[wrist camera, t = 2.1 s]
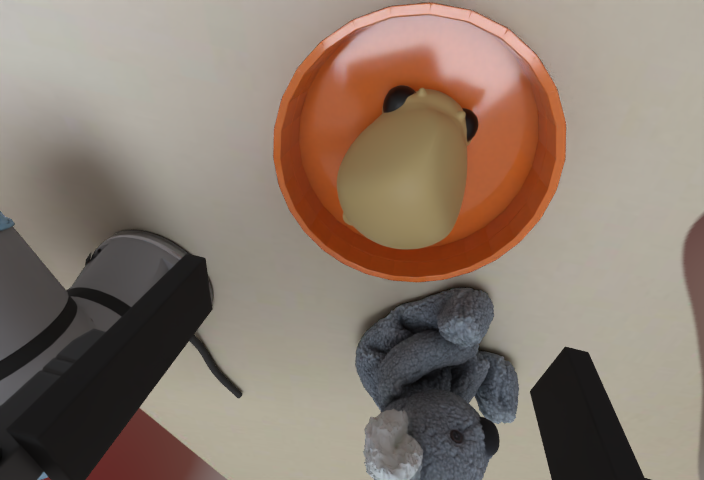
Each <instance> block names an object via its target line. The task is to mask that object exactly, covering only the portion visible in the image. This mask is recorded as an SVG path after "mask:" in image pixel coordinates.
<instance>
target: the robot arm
mask: <svg viewBox="0 0 704 480" xmlns="http://www.w3.org/2000/svg"><path fill="white" fill-rule="evenodd" d="M14 225H15V223H14V222H13V220H12V219H10V218H8V217H5V216H4V215H3V214H2V212H1V211H0V480H41V479H44V478H47V477H49V478H50V479H51V480H85V479H86V478H87V477H88V476H89V474H90V473H91V471H92V470H93V469H94V467H95V466H96V465H97V463H98V462H99V461H100V459H101V458H102V457H103V455H104V454H105V453H106V451H107V450H108V449H109V447H110V446H111V445H112V443H113V442H114V440H115V439H116V438H117V437H118V435H119V434H120V433H121V431H122V430H123V429H124V427H125V426H126V425H127V423H128V422H129V420H130V419H131V418H132V416H133V415H134V414H135V413H136V411H137V410H138V408H139V407H140V406H141V404H142V403H143V402H144V400H145V399H146V398H147V396H148V395H149V394H150V392H151V391H152V390H153V388H154V387H155V386H156V384H157V383H158V382H159V380H160V379H161V378H162V376H163V375H164V374H165V372H166V371H167V370H168V368H169V367H170V366H171V364H172V363H173V362H174V360H175V359H176V357H177V356H178V355H179V353H180V352H181V351H182V349H183V348H184V347H185V345H186V344H187V343H188V341H190V342H191V343H192V344H193V345H194V346H195V347H196V348H197V350H198V351H199V352H200V354H201V355H202V357H203V359H204V360H205V362H206V364H207V366H208V367H209V369H210V370H211V372H212V373H213V374H214V375H215V377H216V378H217V379H218V380H219V381H220V382H221V383H222V384H223V385H224V386H225V387H226V388H227V389H228V390H229V391H231V392H232V393H233V394H234V395H235V396H236V397H237V398H240V397H241V396H242V393H241V392H240V391H239V390H238V389H237V388H236V387H235V386H234V385H233V384H232V383H231V382H230V381H229V380H228V379H227V378H226V377H225V376H224V375H223V374H222V373H221V372H220V370H219V369H218V368H217V367H216V365H215V363H214V362H213V360H212V358H211V356H210V355H209V353H208V351H207V349H206V348H205V347H204V345H203V344H202V343H201V342H200V340H199V339H198V338H197V337H196V336H195V335H194V333H195V332H196V331H197V329H198V328H199V327H200V325H201V324H202V323H203V321H204V320H205V319H206V317H207V316H208V315H209V313H210V312H211V311H212V299H213V293H212V288H211V284H210V282H209V280H208V273H207V266H206V259H205V258H203V257H199V256H195V255H191V254H188V253H187V252H186V251H184V250H183V249H182V248H180V247H179V246H177V245H176V244H174V243H173V242H171V241H169V240H167V239H165V238H163V237H161V236H158V235H156V234H153V233H149V232H145V231H139V230H126V231H121V232H118V233H116V234H114V235H113V236H111V237H110V238H108V239H107V240H105V241H104V242H103V243H101V244H100V245H99V247H98V248H97V249H96V250H95V252H94V253H93V255H92V257H91V253H90V254H89V256H88V257H87V259H86V263H85V267H84V268H83V270H82V271H81V273H80V274H79V276H78V277H77V279H76V280H75V282H74V283H73V285H72V286H71V287H70V288H69V289H68V290H65V289H64V288H63V286H62V285H61V284H60V283H59V281H58V280H57V279H56V278H55V277H54V275H53V274H52V273H51V272H50V271H49V269H48V268H47V267H46V266H45V265H44V263H43V262H42V261H41V260H40V259H39V257H38V256H37V255H36V254H35V252H34V251H33V250H32V249H31V248H30V246H29V245H28V244H27V243H26V242H25V240H24V239H23V238H22V237H21V236H20V234H19V233H18V232H17V231H16V230H15V228H14V227H13V226H14ZM90 258H91V260H90ZM530 394H531V398H532V402H533V406H534V410H535V414H536V418H537V422H538V426H539V430H540V434H541V438H542V442H543V446H544V450H545V454H546V458H547V462H548V466H549V470H550V474H551V478H552V480H651V479H647V478H644V476H643V474H642V471H641V469H640V467H639V465H638V462H637V460H636V458H635V456H634V453H633V451H632V449H631V447H630V444H629V442H628V440H627V438H626V436H625V433H624V431H623V429H622V427H621V424H620V422H619V420H618V418H617V415H616V413H615V411H614V409H613V406H612V404H611V402H610V400H609V397H608V395H607V393H606V391H605V389H604V386H603V384H602V382H601V380H600V377H599V375H598V373H597V371H596V368H595V366H594V364H593V362H592V359H591V357H590V355H589V353H588V352H585V351H581V350H577V349H573V348H569V347H565V348H564V349H563V350H562V351H561V353H560V354H559V355H558V356H557V358H556V359H555V360H554V361H553V363H552V364H551V365H550V367H549V368H548V369H547V370H546V372H545V373H544V374H543V375H542V377H541V378H540V379H539V381H538V382H537V383H536V384H535V386H534V387H533V388H532V389H531V391H530Z"/></svg>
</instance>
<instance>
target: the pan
mask: <svg viewBox="0 0 704 480" xmlns="http://www.w3.org/2000/svg"><path fill="white" fill-rule="evenodd" d="M399 85H405V86H409V87H411V88H412V89H414V90H415V91H418V90H419V89H420V88H424V89H432V90H437V91H440V92H442V93H444V94H446V95H448V96H450V97H451V98H452V99H454V100H455V101H456V102H457V103H458V104H459V105H460V106H461V108H466V109H469V110H471V111H472V112H473V113H474V114H475V115H476V116H477V119H478V130H477V132H476V134H475V136H474V137H473V138H472V140H471V142H470V144H469V145H468V146H467V178H466V186H465V192H464V197H463V201H462V205H461V209H460V212H459V215H458V218H457V221H456V223H455V225H454V227H453V229H452V231H451V232H450V233H449V235H448V236H447V237H445V238H444V239H443V240H441V241H439V242H437V243H435V244H433V245H430V246H427V247H424V248H419V249H395V248H390V247H386V246H383V245H380V244H378V243H376V242H373V241H372V240H370V239H368V238H367V237H365V236H364V235H363V234H361V233H360V232H359V231H358V230H357V229H356V228H355V227H354V226H352V225H349V224H347V223H345V221H344V220H343V210H342V208H341V205H340V202H339V198H338V193H337V175H338V171H339V168H340V165H341V162H342V160H343V158H344V156H345V154H346V153H347V151H348V149H349V148H350V146H351V145H352V143H353V142H354V141H355V139H356V138H357V137H358V136H359V135H360V134H361V133H362V132H363V131H364V130H365V129H366V128H367V127H368V126H369V125H370V124H372V123H373V122H374V121H375V120H376V119H377V118H378V117H379V116H380V115H381V114H382V106H383V102H384V99H385V96H386V95H387V93H388V91H389V90H390V89H392V88H394V87H396V86H399ZM565 123H566V121H565V118H564V114H563V110H562V106H561V102H560V98H559V94H558V90H557V89H556V86H555V84H554V82H553V81H552V79H551V77H550V75H549V74H548V72H547V70H546V69H545V67H544V65H543V64H542V62H541V60H540V59H539V57H538V56H537V54H536V53H535V52H534V51H532V50H531V49H530V48H529V47H528V46H527V45H526V44H525V43H524V42H523V41H522V40H521V39H520V38H518V37H517V36H516V35H515V34H514V33H513V32H512V31H511V30H510V29H508V28H507V27H505V26H503V25H501V24H499V23H497V22H495V21H493V20H491V19H489V18H487V17H485V16H483V15H481V14H479V13H477V12H475V11H472V10H469V9H464V8H459V7H453V6H448V5H442V4H437V3H419V4H407V5H395V6H389V7H386V8H383V9H380V10H378V11H375V12H372V13H369V14H367V15H364V16H361V17H358V18H356V19H353V20H351V21H350V22H348V23H347V24H345V25H344V26H343V27H341V28H340V29H338V30H337V31H335V32H334V33H332V34H331V35H329V36H328V37H327V38H325V39H324V40H322V42H320V43H319V44H318V45H317V46H316V48H315V49H314V50H313V51H312V52H311V53H310V54H309V56H308V57H307V58H306V59H305V60H304V61H303V62H302V63H301V65H300V66H299V67H298V69H297V70H296V72H295V74H294V76H293V77H292V79H291V81H290V83H289V85H288V87H287V89H286V91H285V93H284V95H283V97H282V99H281V103H280V107H279V111H278V115H277V119H276V123H275V127H274V128H275V129H274V155H273V158H274V163H275V168H276V173H277V178H278V183H279V187H280V189H281V192H282V194H283V196H284V199H285V201H286V203H287V206H288V208H289V210H290V212H291V213H292V215H293V216H294V218H295V219H296V220H297V222H298V223H299V225H300V226H301V228H302V229H303V231H304V232H305V233H306V234H307V235H308V236H309V237H310V238H311V239H312V240H313V241H314V242H315V243H316V244H317V245H318V246H319V247H320V248H321V249H323V250H324V251H325V252H327V253H328V254H330V255H331V256H333V257H334V258H335V259H337V260H338V261H340V262H341V263H343V264H345V265H347V266H349V267H352V268H354V269H356V270H359V271H361V272H363V273H365V274H368V275H372V276H376V277H380V278H384V279H388V280H393V281H407V282H426V281H436V280H444V279H448V278H452V277H456V276H459V275H463V274H466V273H470V272H472V271H474V270H477V269H479V268H481V267H483V266H485V265H487V264H489V263H491V262H493V261H495V260H496V259H498V258H499V257H501V256H502V255H503V254H505V253H506V252H507V251H509V250H510V249H511V248H513V247H514V246H515V245H517V244H518V243H519V242H520V241H521V240H522V239H523V238H524V237H525V236H526V235H527V234H528V233H529V231H530V230H531V229H532V228H533V227H534V226H535V225H536V224H537V222H538V221H539V220H540V218H541V217H542V216H543V214H544V212H545V210H546V208H547V207H548V205H549V203H550V201H551V199H552V198H553V196H554V194H555V192H556V190H557V187H558V183H559V180H560V176H561V173H562V169H563V165H564V162H565V153H566V124H565Z"/></svg>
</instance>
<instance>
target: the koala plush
mask: <svg viewBox="0 0 704 480" xmlns="http://www.w3.org/2000/svg"><path fill="white" fill-rule="evenodd" d="M493 308H494V306H493V304H492V301H491V299H490V298H489V297H488V294H486V292H482V291H481V290H479V291H478V290H473V289H472V288H469V287H468V288H453V289H450V290H447V291H443V292H440V293H437V294H436V295H431V296H430V297H426V298H424V299H422V300H420V301H415V302H408V303H404V304H402V305H401V306H398V307H396V308H395V310H391V313H390V314H389V315H388V316H387V317H385V318H382V319H379V321H378V322H377V323H375V324H374V325H373V326H372V327H371V328H370V329H369V330H367V331H366V332H365V334H364V336H363V337H362V338H361V341H360V342H359V343H358V347H357V350H356V361H355V362H356V364H355V366H356V369H357V372H358V375H359V377H360V380H361V382H362V384H363V386H364V388H365V389H366V390H367V392H368V393H369V395H370V396H371V397H372V398H373V400H374V402H375V403H376V405H377V406H378V407H379V409H380V410H381V413H380V414H379V415H378V416H377V417H375V418H374V417H370V420H369V423H368V424H367V425H366V428H365V434H366V438H365V449H364V451H363V453H364V456H365V457H366V459H365V462H364V464H365V463H366V465H365V466H366V470H367V471H366V472H367V473H368V474H369V475H370V476H371V477H372V478H374V480H482V478H483V476H484V473H485V470H486V467H487V465H488V462H489V459H490V458H492V456H493V455H494V454H495V453H496V452H497V450H498V448H499V434H498V430H497V428H496V426H495V424H494V423H497V424H499V423H501V422H503V423H511V422H513V421H514V419H515V418H516V415H515V414H516V411H517V405H518V395H519V394H518V391H519V387H518V385H519V384H518V378H517V373H516V372H515V369H514V367H513V366H512V365H511V363H510V362H509V361H505V360H504V356H500V355H497V354H493V353H490V352H486V351H485V352H484V351H478V348H479V345H478V344H477V343H479V344H480V341H481V340H482V338H483V337H484V336H485V334H486V333H487V331H488V329H489V325H490V323H491V321H492V319H493V317H494V313H493V312H494V310H493ZM474 396H475V399H476V400H477V402H478V406H479V410H480V411H481V412H482V414H483V415H484V417H485V418H484V417H480V415H479V414H478V412H477V411H476V410H475V409H474V408H473V407H472V406H471V405H470V404H469V402H470V401H471V399H472V398H473V397H474ZM488 419H489V420H488Z"/></svg>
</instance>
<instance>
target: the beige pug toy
mask: <svg viewBox="0 0 704 480" xmlns="http://www.w3.org/2000/svg"><path fill="white" fill-rule="evenodd" d="M477 130H478V119H477V116H476V115H475V114H474V113H473V112H472V111H471V110H469V109H466V108H461V106H460V105H459V104H458V103H457V102H456V101H455V100H454V99H452V98H451V97H450V96H448V95H446V94H444V93H442V92H440V91H437V90H432V89H424V88H420V89H419V90H418V91H415V90H414V89H412V88H411V87H409V86H405V85H399V86H396V87H394V88H392V89H390V90H389V91H388V93H387V95H386V96H385V99H384V102H383V106H382V114H381V115H380V116H379V117H378V118H377V119H376V120H375V121H374V122H373V123H372V124H370V125H369V126H368V127H367V128H366V129H365V130H364V131H363V132H362V133H361V134H360V135H359V136H358V137H357V138H356V139H355V141H354V142H353V143H352V145H351V146H350V148H349V149H348V151H347V153H346V154H345V156H344V158H343V160H342V162H341V165H340V168H339V171H338V175H337V193H338V198H339V202H340V205H341V208H342V210H343V220H344V221H345V223H347V224H349V225H352V226H354V227H355V228H356V229H357V230H358V231H359V232H360V233H361V234H363V235H364V236H365V237H367V238H368V239H370V240H372V241H373V242H376V243H378V244H380V245H383V246H386V247H390V248H395V249H419V248H424V247H427V246H430V245H433V244H435V243H437V242H439V241H441V240H443V239H444V238H445V237H447V236H448V235H449V233H450V232H451V231H452V229H453V227H454V225H455V223H456V221H457V218H458V215H459V212H460V209H461V205H462V201H463V197H464V192H465V186H466V178H467V146H468V145H469V144H470V142H471V140H472V138H473V137H474V136H475V134H476V132H477Z"/></svg>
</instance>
